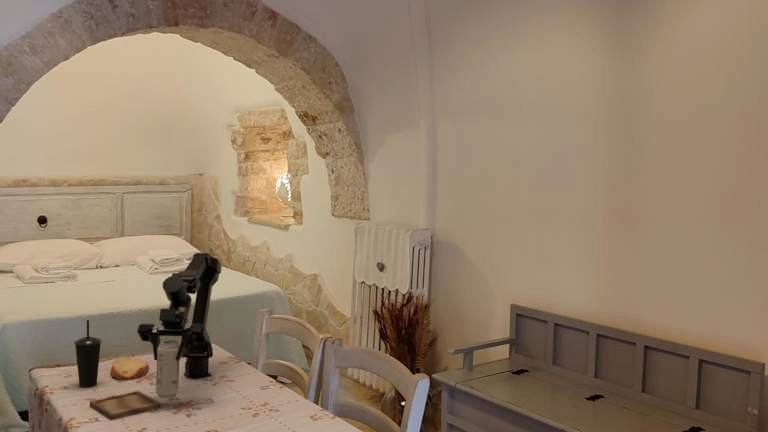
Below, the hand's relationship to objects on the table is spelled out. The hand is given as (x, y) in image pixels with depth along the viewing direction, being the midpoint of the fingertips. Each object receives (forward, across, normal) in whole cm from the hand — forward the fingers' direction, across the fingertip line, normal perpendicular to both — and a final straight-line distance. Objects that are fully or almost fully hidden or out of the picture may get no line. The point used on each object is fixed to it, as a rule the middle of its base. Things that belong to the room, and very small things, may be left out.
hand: (166, 360), depth 193 cm
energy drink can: (+7, 0, +8) cm, 11 cm away
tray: (+10, -11, +9) cm, 18 cm away
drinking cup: (-2, -30, +22) cm, 37 cm away
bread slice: (-13, -24, +34) cm, 44 cm away
